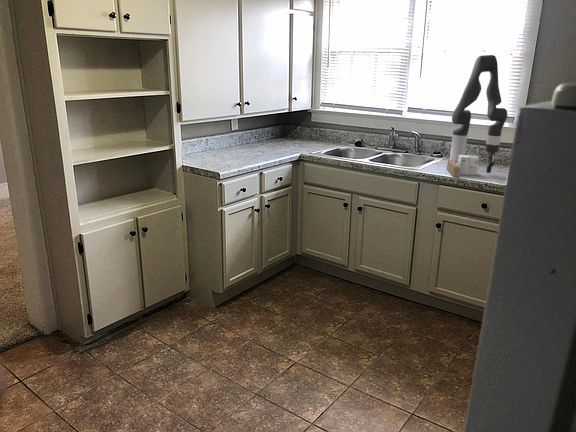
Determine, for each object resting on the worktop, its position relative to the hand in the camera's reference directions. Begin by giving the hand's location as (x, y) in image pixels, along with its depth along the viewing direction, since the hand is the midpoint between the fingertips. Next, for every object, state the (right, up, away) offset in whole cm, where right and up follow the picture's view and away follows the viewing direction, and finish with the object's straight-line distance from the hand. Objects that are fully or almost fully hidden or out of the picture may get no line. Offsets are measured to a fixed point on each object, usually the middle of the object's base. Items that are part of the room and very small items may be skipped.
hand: (488, 172), depth 283 cm
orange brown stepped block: (-20, 0, +3) cm, 20 cm away
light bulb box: (-12, -1, +3) cm, 12 cm away
